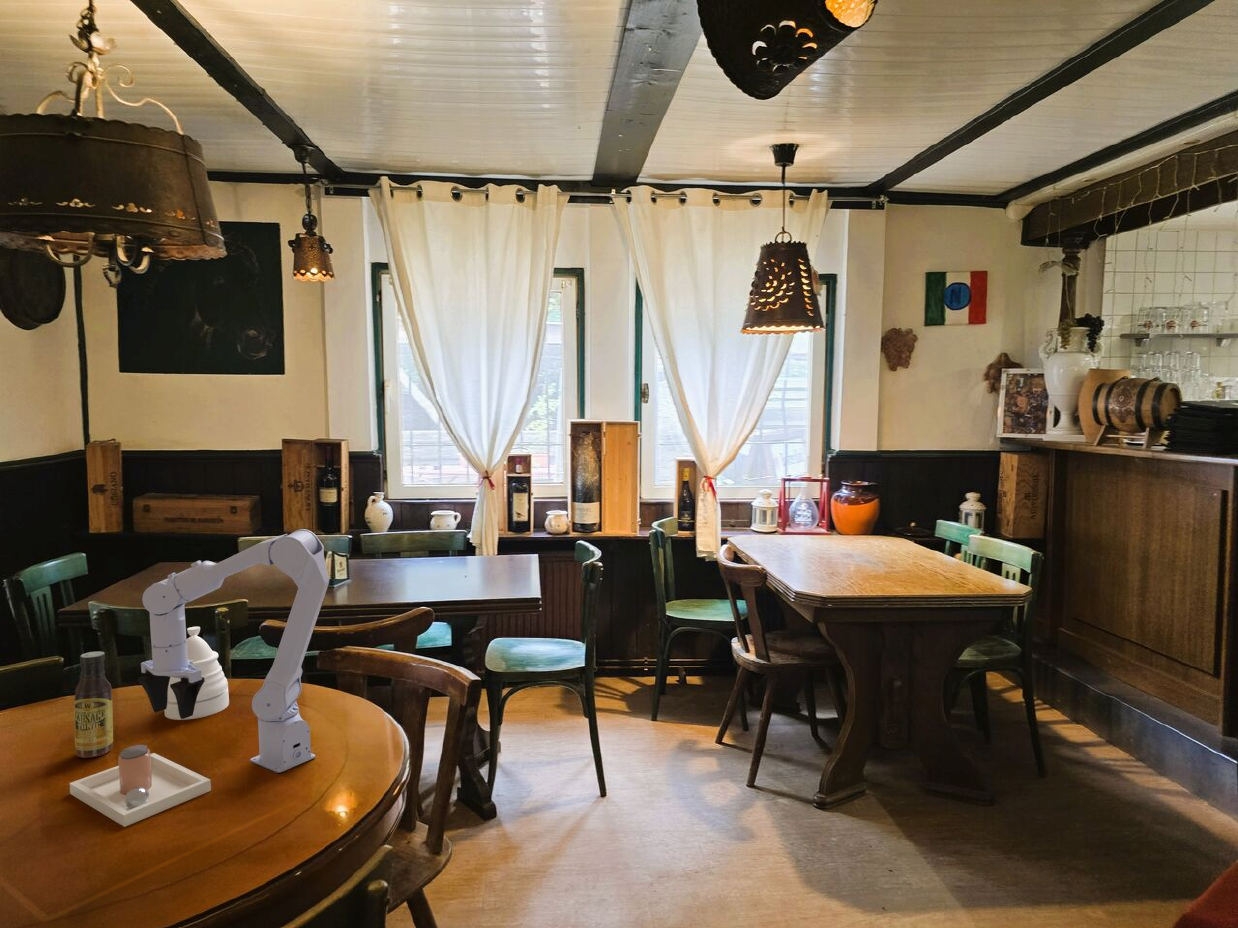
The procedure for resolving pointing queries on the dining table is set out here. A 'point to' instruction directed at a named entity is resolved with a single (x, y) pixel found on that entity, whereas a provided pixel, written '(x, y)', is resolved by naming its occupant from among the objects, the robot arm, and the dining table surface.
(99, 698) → the sauce bottle
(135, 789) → the mixing ball
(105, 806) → the dish
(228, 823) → the dining table surface
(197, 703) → the honey pot
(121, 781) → the shaker
